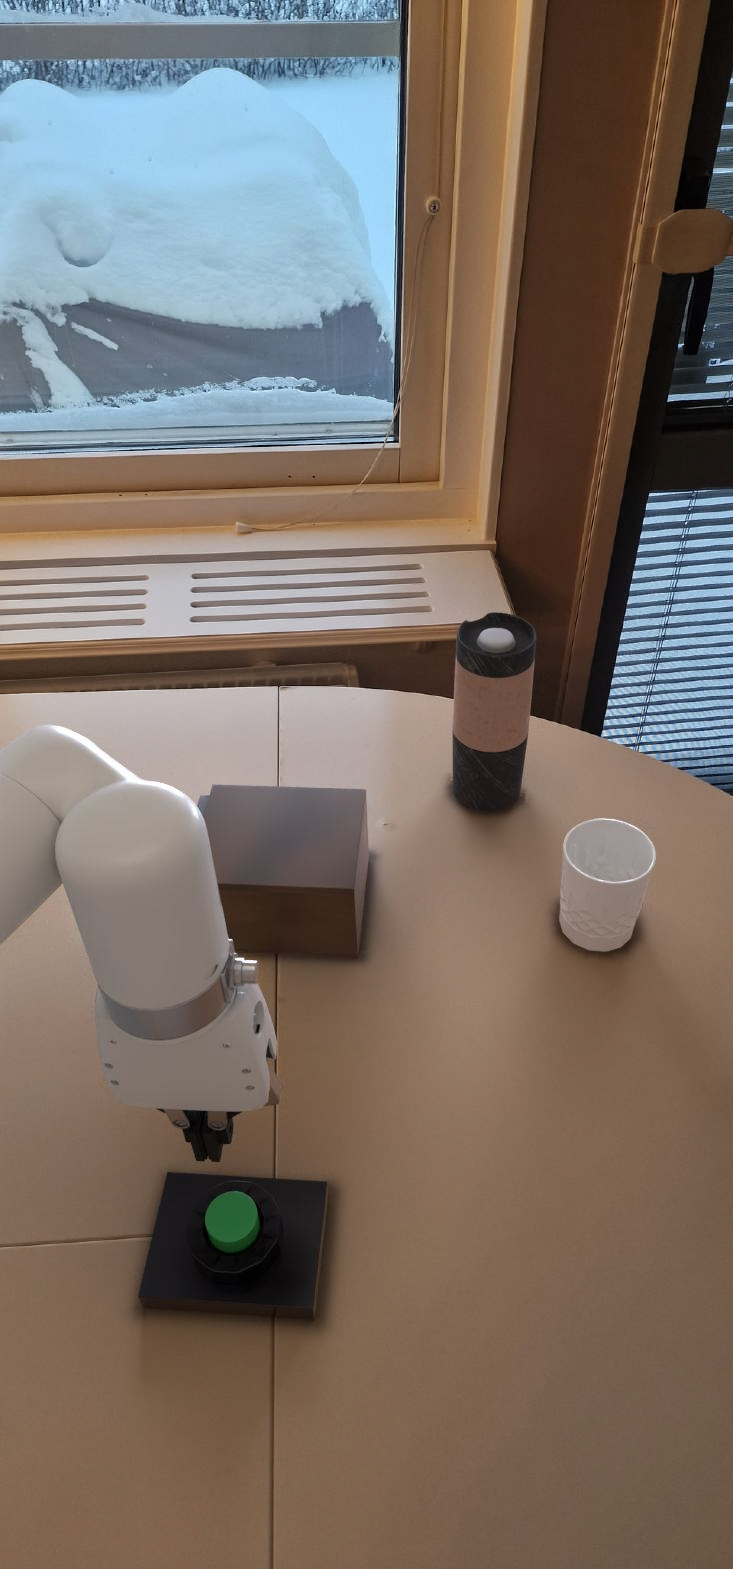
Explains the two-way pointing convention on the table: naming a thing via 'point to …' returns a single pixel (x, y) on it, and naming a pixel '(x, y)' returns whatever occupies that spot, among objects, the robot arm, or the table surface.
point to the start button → (232, 1222)
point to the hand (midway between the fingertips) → (212, 1141)
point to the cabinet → (290, 867)
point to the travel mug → (491, 709)
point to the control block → (244, 1282)
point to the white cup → (603, 882)
